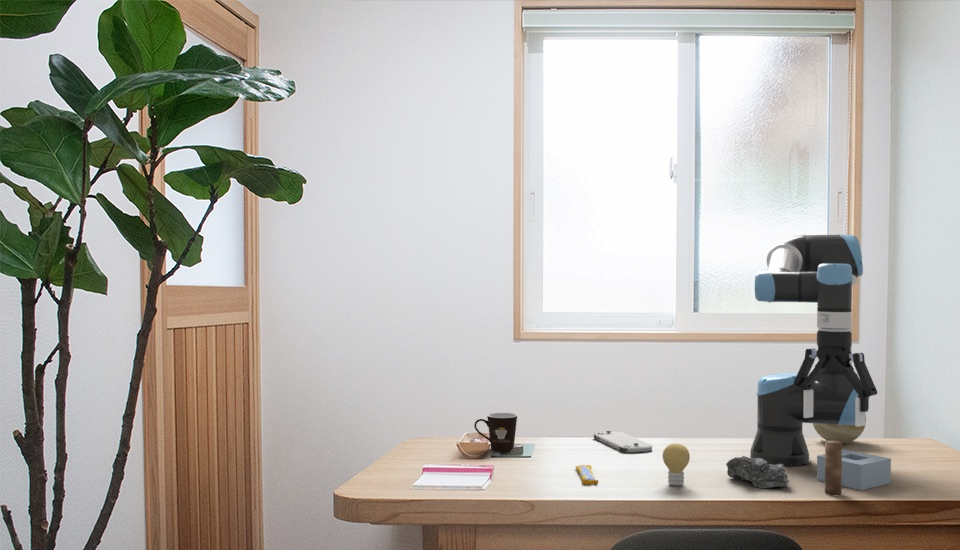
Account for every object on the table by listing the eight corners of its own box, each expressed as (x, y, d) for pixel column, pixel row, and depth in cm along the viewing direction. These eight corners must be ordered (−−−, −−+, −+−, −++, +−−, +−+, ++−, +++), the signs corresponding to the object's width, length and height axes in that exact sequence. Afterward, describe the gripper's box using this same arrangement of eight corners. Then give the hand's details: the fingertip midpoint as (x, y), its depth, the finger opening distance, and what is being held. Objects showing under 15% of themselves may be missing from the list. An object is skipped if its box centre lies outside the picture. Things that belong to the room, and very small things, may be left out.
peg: (824, 494, 206) (824, 443, 205) (825, 490, 209) (825, 440, 209) (841, 496, 204) (841, 444, 204) (841, 492, 207) (842, 441, 207)
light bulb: (684, 489, 210) (684, 447, 210) (658, 486, 214) (658, 444, 213) (693, 483, 216) (693, 442, 215) (667, 480, 219) (668, 439, 219)
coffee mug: (522, 449, 255) (522, 414, 255) (507, 454, 248) (507, 419, 248) (488, 444, 261) (488, 410, 261) (472, 449, 254) (472, 415, 254)
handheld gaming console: (656, 443, 251) (624, 445, 248) (656, 453, 251) (624, 455, 249) (621, 428, 273) (591, 430, 271) (621, 437, 274) (591, 439, 271)
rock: (724, 472, 223) (724, 442, 218) (774, 464, 224) (776, 434, 218) (741, 510, 212) (742, 479, 207) (794, 501, 212) (796, 470, 207)
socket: (861, 490, 209) (861, 464, 209) (817, 479, 219) (817, 455, 219) (890, 483, 216) (890, 458, 216) (846, 473, 226) (846, 449, 226)
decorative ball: (806, 437, 271) (806, 388, 271) (857, 438, 269) (858, 389, 269) (818, 447, 256) (818, 396, 256) (872, 449, 254) (873, 397, 254)
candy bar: (599, 487, 214) (599, 479, 214) (582, 487, 214) (582, 479, 214) (591, 470, 231) (591, 463, 231) (575, 470, 231) (575, 463, 231)
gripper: (778, 327, 214) (778, 415, 214) (874, 334, 193) (873, 431, 193) (798, 326, 218) (798, 412, 218) (894, 332, 197) (893, 428, 198)
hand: (833, 421), depth 206 cm, fingers open, 13 cm apart
